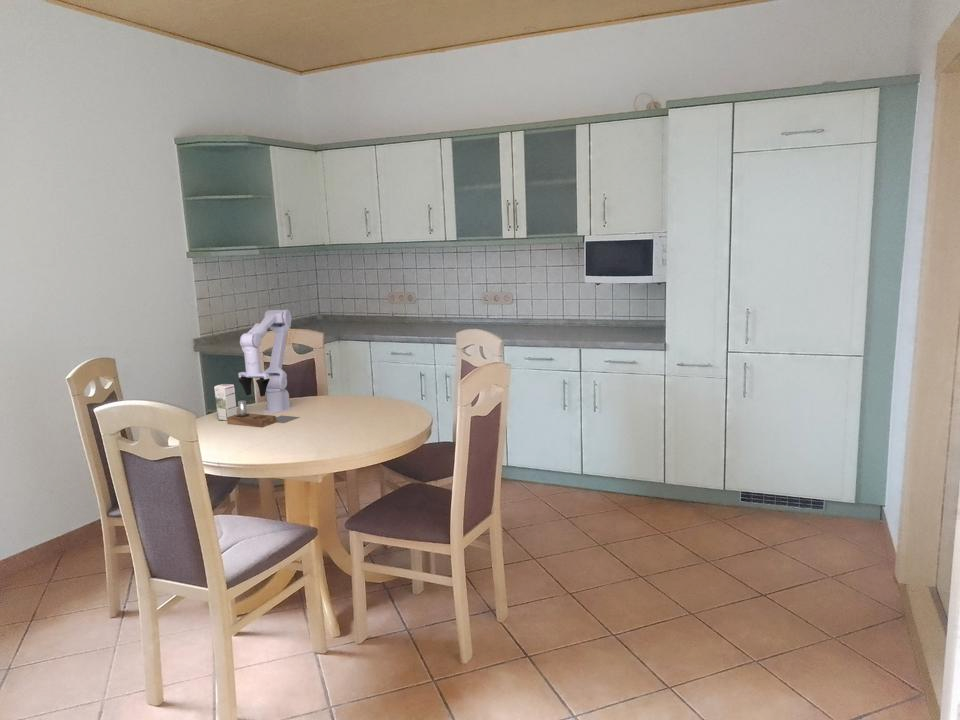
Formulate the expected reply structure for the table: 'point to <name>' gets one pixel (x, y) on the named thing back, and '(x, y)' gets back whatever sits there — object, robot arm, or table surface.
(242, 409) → the peg
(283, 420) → the rubber mat
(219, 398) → the syrup box
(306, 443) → the table surface
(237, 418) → the walnut hole block
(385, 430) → the table surface
